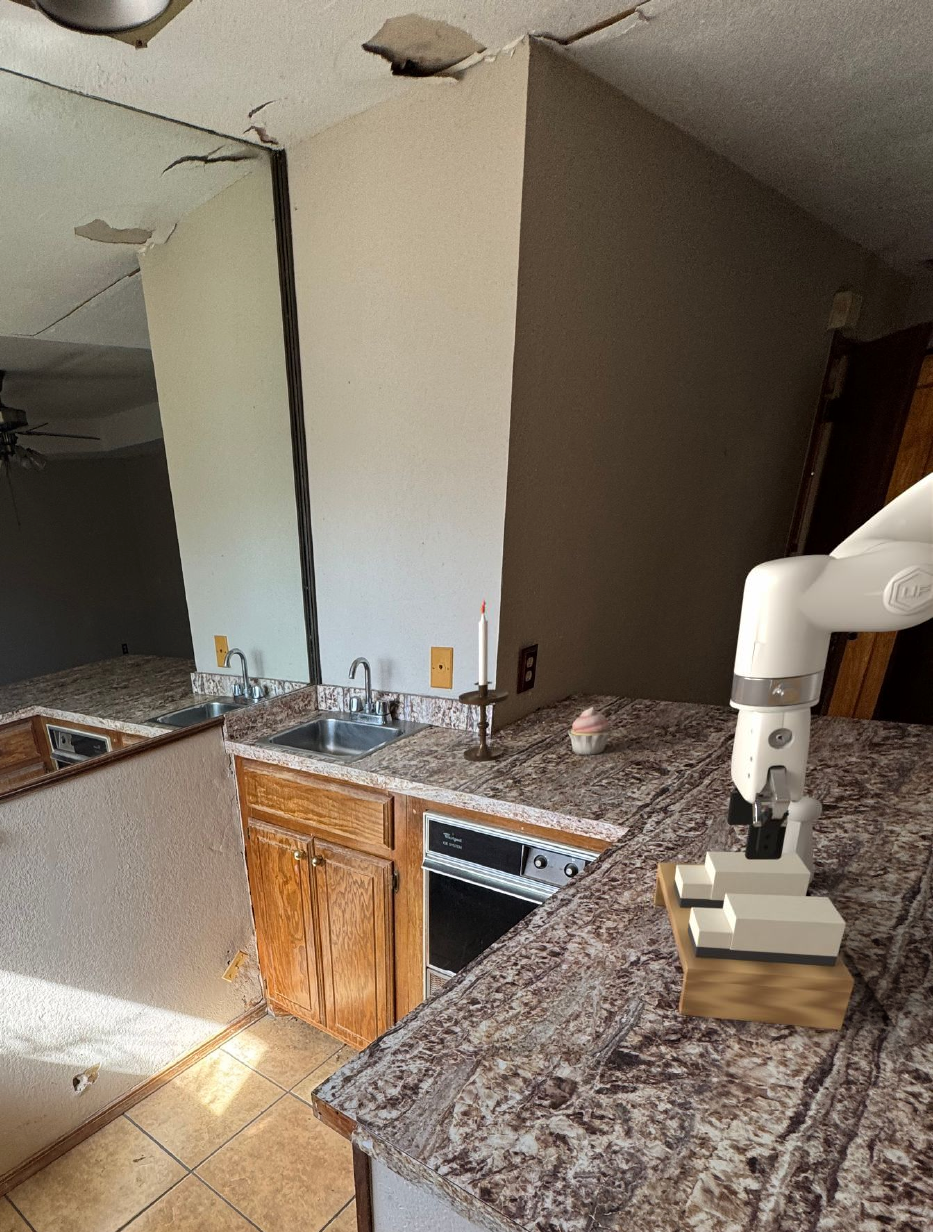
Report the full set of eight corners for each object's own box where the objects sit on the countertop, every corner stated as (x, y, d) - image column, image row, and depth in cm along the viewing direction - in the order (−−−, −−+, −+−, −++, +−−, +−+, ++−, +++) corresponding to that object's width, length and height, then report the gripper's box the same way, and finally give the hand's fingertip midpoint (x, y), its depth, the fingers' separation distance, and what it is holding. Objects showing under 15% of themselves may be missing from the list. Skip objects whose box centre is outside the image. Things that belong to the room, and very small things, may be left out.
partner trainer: (817, 938, 73) (828, 896, 71) (834, 966, 68) (846, 923, 66) (687, 931, 77) (693, 892, 75) (695, 957, 73) (701, 916, 71)
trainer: (788, 890, 82) (797, 852, 80) (802, 913, 77) (811, 873, 75) (673, 886, 86) (678, 850, 84) (679, 907, 82) (684, 870, 80)
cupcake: (608, 757, 150) (611, 712, 146) (562, 756, 155) (565, 712, 151) (614, 745, 157) (618, 701, 153) (570, 744, 162) (573, 702, 158)
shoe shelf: (774, 906, 90) (783, 865, 87) (840, 1030, 69) (855, 980, 66) (653, 901, 95) (658, 862, 93) (680, 1014, 74) (687, 968, 71)
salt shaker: (754, 878, 97) (772, 791, 91) (805, 881, 94) (826, 791, 89) (760, 897, 92) (778, 806, 87) (813, 901, 90) (835, 808, 84)
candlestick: (510, 760, 158) (513, 597, 143) (461, 764, 160) (459, 604, 145) (503, 747, 168) (506, 593, 152) (457, 751, 170) (455, 600, 155)
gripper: (849, 705, 62) (815, 874, 70) (795, 668, 76) (772, 811, 84) (750, 712, 65) (728, 873, 73) (716, 675, 79) (701, 813, 87)
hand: (752, 840), depth 78 cm, fingers open, 9 cm apart
